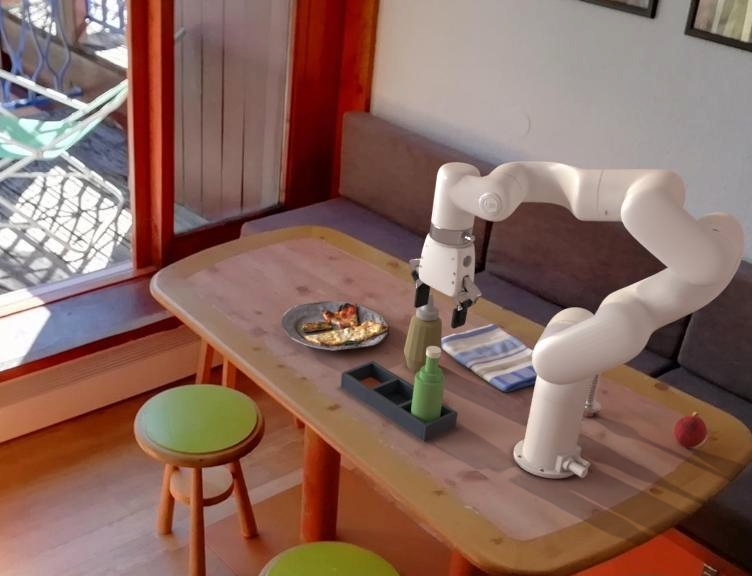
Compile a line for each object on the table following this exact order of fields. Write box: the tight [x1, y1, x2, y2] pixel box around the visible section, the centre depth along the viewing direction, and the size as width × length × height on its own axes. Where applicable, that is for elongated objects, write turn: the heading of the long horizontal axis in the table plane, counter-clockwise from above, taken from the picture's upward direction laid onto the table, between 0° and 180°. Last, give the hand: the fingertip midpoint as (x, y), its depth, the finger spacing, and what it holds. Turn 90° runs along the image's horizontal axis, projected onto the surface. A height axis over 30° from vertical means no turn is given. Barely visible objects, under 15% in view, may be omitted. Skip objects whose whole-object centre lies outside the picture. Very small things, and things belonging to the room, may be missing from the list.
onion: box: [673, 411, 707, 449], centre depth 205 cm, size 6×6×8 cm
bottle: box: [411, 346, 446, 423], centre depth 207 cm, size 6×6×17 cm
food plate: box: [280, 300, 390, 352], centre depth 244 cm, size 25×23×4 cm
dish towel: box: [441, 323, 537, 393], centre depth 234 cm, size 17×24×3 cm
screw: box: [583, 373, 602, 418], centre depth 213 cm, size 13×5×5 cm
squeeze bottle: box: [403, 292, 443, 373], centre depth 227 cm, size 8×8×18 cm
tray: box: [340, 360, 459, 442], centre depth 216 cm, size 25×9×4 cm, turn 37°
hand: (439, 315), depth 199 cm, fingers open, 9 cm apart
